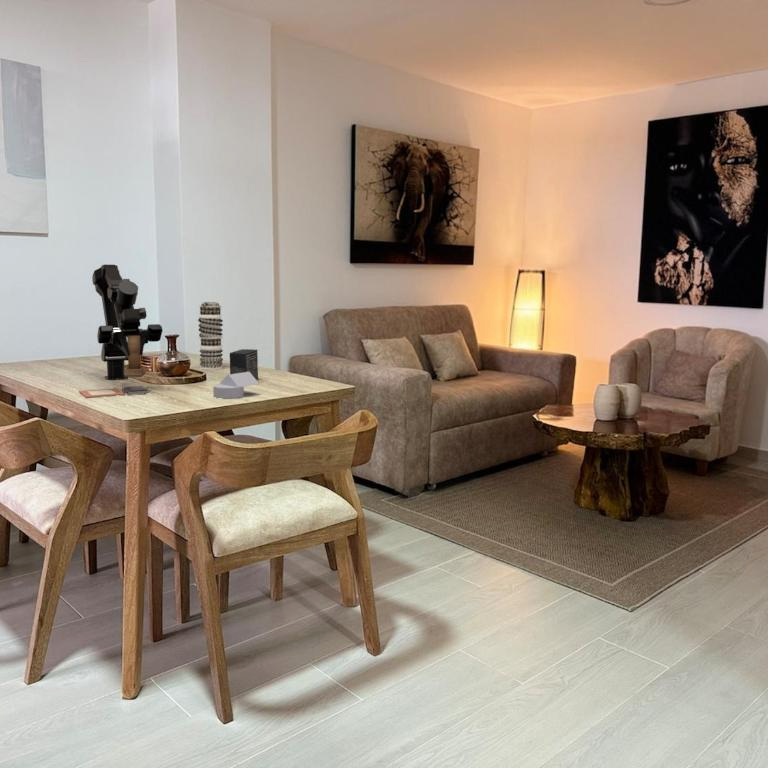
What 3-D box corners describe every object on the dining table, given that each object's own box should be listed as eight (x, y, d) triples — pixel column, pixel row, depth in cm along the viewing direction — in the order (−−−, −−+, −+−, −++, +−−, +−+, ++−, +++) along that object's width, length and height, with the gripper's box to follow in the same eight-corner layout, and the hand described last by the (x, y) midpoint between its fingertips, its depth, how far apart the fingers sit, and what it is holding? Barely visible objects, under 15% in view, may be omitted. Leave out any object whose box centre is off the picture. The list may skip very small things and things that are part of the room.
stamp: (129, 374, 227) (127, 334, 225) (145, 374, 227) (144, 335, 225) (124, 376, 222) (122, 336, 220) (141, 377, 222) (139, 336, 220)
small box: (241, 378, 256) (240, 348, 255) (258, 379, 255) (258, 349, 253) (229, 382, 246) (228, 352, 244) (247, 383, 245) (246, 353, 243)
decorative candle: (198, 370, 273) (197, 303, 268) (199, 366, 281) (197, 301, 277) (223, 369, 275) (222, 303, 270) (223, 366, 284) (222, 301, 279)
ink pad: (122, 391, 227) (122, 387, 227) (142, 389, 230) (141, 385, 230) (128, 395, 221) (128, 391, 220) (148, 393, 224) (148, 389, 224)
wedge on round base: (239, 391, 232) (207, 396, 221) (239, 370, 231) (206, 374, 220) (259, 394, 226) (227, 400, 216) (259, 373, 225) (226, 378, 215)
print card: (79, 392, 224) (79, 390, 224) (116, 389, 230) (116, 388, 230) (86, 398, 215) (86, 396, 215) (124, 395, 221) (124, 393, 221)
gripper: (97, 299, 219) (105, 339, 212) (160, 298, 229) (170, 337, 221) (93, 323, 227) (101, 362, 220) (154, 321, 237) (164, 359, 229)
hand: (135, 354), depth 222 cm, fingers closed on stamp, 4 cm apart
